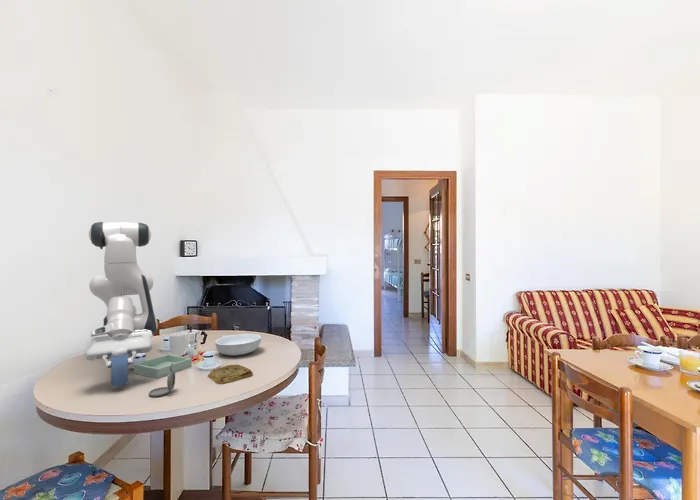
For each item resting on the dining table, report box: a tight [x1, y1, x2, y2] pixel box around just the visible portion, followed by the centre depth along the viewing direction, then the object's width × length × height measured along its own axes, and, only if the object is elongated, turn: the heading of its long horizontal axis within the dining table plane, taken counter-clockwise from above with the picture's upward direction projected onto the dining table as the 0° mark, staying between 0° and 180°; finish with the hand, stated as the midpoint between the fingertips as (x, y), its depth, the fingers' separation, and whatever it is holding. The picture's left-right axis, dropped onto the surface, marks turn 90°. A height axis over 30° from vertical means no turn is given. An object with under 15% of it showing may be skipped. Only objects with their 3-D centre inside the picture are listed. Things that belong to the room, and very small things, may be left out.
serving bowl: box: [214, 333, 262, 357], centre depth 165 cm, size 21×21×7 cm
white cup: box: [168, 331, 189, 357], centre depth 163 cm, size 8×8×10 cm
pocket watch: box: [148, 363, 176, 398], centre depth 118 cm, size 8×8×10 cm
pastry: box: [207, 364, 253, 385], centre depth 134 cm, size 17×17×3 cm
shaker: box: [110, 348, 129, 388], centre depth 122 cm, size 5×5×12 cm
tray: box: [133, 353, 193, 379], centre depth 142 cm, size 15×15×4 cm
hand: (119, 365), depth 122 cm, fingers closed on shaker, 5 cm apart
